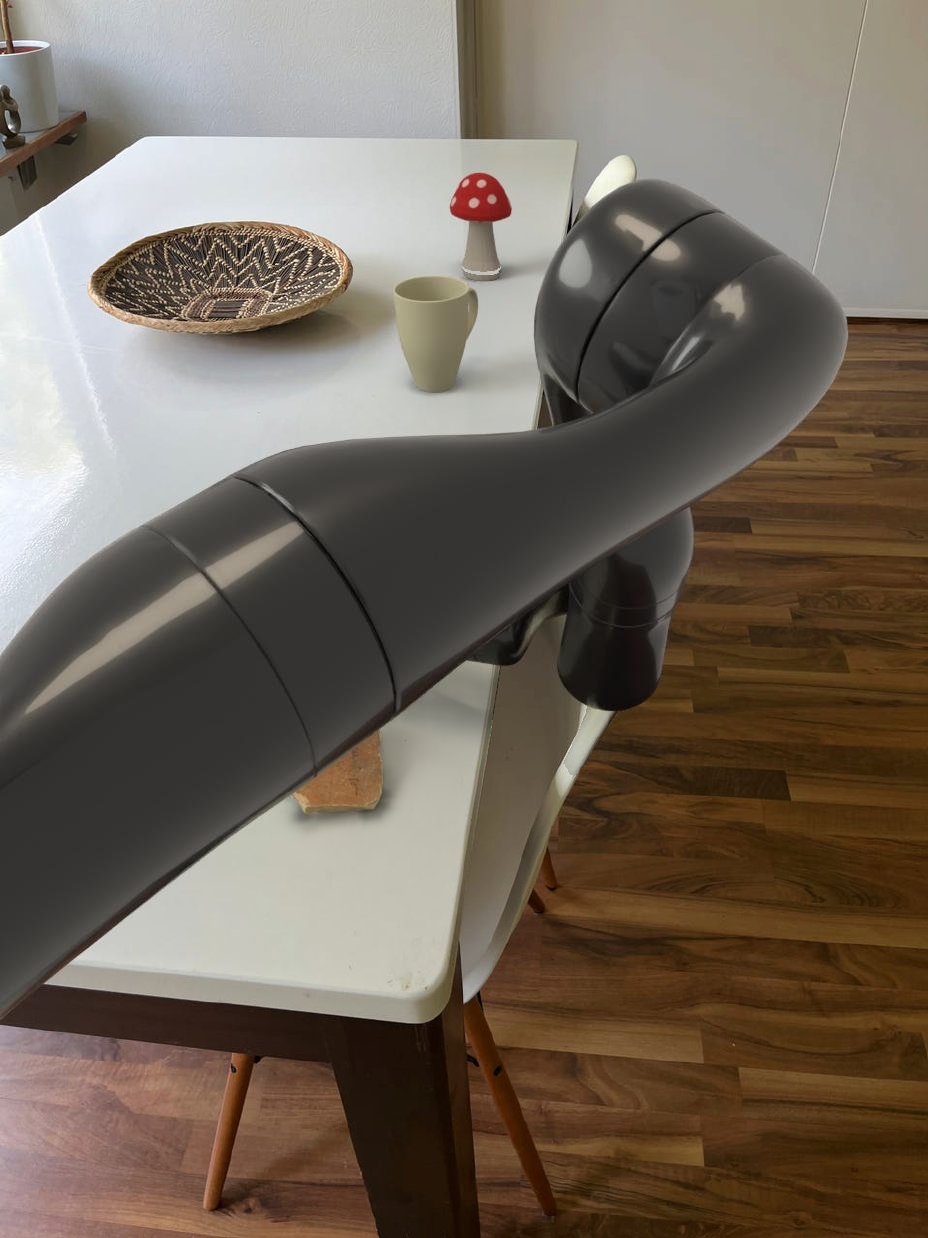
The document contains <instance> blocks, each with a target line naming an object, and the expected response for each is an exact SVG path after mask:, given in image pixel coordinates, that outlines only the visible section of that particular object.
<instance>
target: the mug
mask: <svg viewBox="0 0 928 1238" xmlns="http://www.w3.org/2000/svg"><path fill="white" fill-rule="evenodd" d="M392 294H393V295H392V296H393V302H394V303H393V304H394V309H395V311H394V312H395V318H396V326H397V332H398V338H399V343H400V347H401V350H402V354H403V356H404V358H405V359H404V360H405V361H406V364H407V367H408V370H409V371H410V375H411V377H412V380H413V382H414V385H415V387H416V388H417V389H418V390H420V391H422V392H427V393H441V392H445V391H448V390H450V389H453V387H454V386H455V383H456V380H457V377H458V373H459V370H460V366H461V363H462V359H463V357H464V352H465V349H466V344H467V340H468V339H469V337H470V335H471V333H472V331H473V329H474V326H475V324H476V322H477V318H478V313H479V297H478V293H477V291H476V290H475V289H474V288H473V287H471V286H469V284H468V283H467V282H466V281H464V280H462V279H460V278H457V277H452V276H445V275H424V276H423V275H422V276H415V277H411V278H407V279H404V280H402V281H400V282H398V283H396V284H395V285H394V287H393V288H392Z"/></svg>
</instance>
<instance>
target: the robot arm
mask: <svg viewBox="0 0 928 1238" xmlns="http://www.w3.org/2000/svg"><path fill="white" fill-rule="evenodd" d="M534 308H535V309H534V315H533V318H534V319H533V343H534V344H533V345H534V354H535V359H536V365H537V369H538V372H539V373H538V374H539V377H540V381H541V385H542V389H543V393H544V397H545V400H546V404H547V408H548V412H549V416H550V421H551V426H548V427H547V426H546V427H540V428H535V429H530V430H523V431H514V432H513V431H512V432H511V431H510V432H497V433H495V432H493V433H474V434H473V433H472V434H471V433H469V434H430V435H405V436H384V437H369V438H353V439H344V440H337V441H329V442H323V443H321V442H320V443H315V444H314V443H313V444H309V445H301V446H298V447H294V448H290V449H286V450H282V451H280V452H277V453H275V454H272V455H269V456H266V457H263V458H261V459H259V460H257V461H255V462H252V463H251V464H249V465H247V466H245V467H243V468H241V469H238V470H237V471H235V472H233V473H231V474H229V475H227V476H225V478H223V479H221V480H219V481H217V482H215V483H213V484H211V485H210V486H208V487H206V488H204V489H203V490H201V491H200V492H198V493H196V494H194V495H192V496H191V497H189V498H187V499H185V500H184V501H182V502H180V503H178V504H177V505H175V506H173V507H171V508H170V509H168V510H166V511H164V512H162V513H161V514H159V515H157V516H155V517H153V518H152V519H150V520H148V521H147V522H144V523H142V524H141V525H139V526H138V527H134V528H133V529H131V530H130V531H128V532H127V533H125V534H123V535H121V536H119V537H118V538H117V539H115V540H114V541H112V542H110V543H109V544H108V545H106V546H105V547H103V548H102V549H100V550H98V551H97V552H96V553H94V554H93V555H91V557H89V558H88V559H86V560H85V561H84V562H82V564H80V565H79V566H77V568H76V569H74V571H72V572H71V573H70V574H69V575H68V576H67V577H65V578H64V580H62V581H61V583H60V584H59V585H58V586H57V587H56V588H55V589H54V590H53V591H52V592H51V593H50V594H48V596H47V597H46V598H45V600H44V601H43V602H42V603H41V604H40V605H39V606H38V607H37V608H36V610H35V611H34V612H33V613H32V615H31V616H30V617H29V618H28V620H27V621H26V622H25V623H24V624H23V626H21V628H20V629H19V631H18V632H17V633H16V634H15V636H14V637H13V638H12V639H11V641H10V642H9V643H8V644H7V646H6V647H5V648H4V649H3V651H2V652H1V653H0V1021H1V1020H3V1018H5V1017H6V1016H7V1015H8V1014H9V1013H10V1012H11V1011H12V1010H13V1009H15V1008H16V1007H17V1006H18V1005H19V1004H20V1003H22V1002H23V1001H24V1000H26V999H27V998H28V997H29V996H30V995H31V994H33V993H34V992H35V991H36V990H39V988H41V987H42V986H43V985H44V984H45V983H46V982H48V981H49V980H51V978H53V977H54V976H55V975H56V974H57V973H59V972H60V971H62V969H64V968H65V967H66V966H68V965H69V964H70V963H71V962H73V961H74V960H75V959H76V958H78V957H79V956H80V955H81V954H83V953H84V952H85V951H87V950H88V949H89V948H90V947H91V946H93V945H94V944H95V943H97V942H98V941H99V940H101V939H102V938H103V937H104V936H105V935H107V934H108V933H109V932H110V931H112V930H113V929H114V928H115V927H117V926H118V925H119V924H120V923H122V922H123V921H124V920H125V919H127V918H128V917H130V916H131V915H132V914H133V913H134V912H135V911H137V910H138V909H140V908H141V907H142V906H143V905H145V904H146V903H147V902H149V901H150V900H152V898H153V897H155V896H156V895H157V894H159V893H160V892H161V891H163V890H164V889H165V888H166V887H168V886H169V885H170V884H171V883H173V882H174V881H175V880H177V879H178V878H179V877H181V876H182V875H184V873H186V872H187V871H189V870H190V869H192V867H193V866H195V865H197V863H199V862H200V861H201V860H202V859H204V858H205V857H207V856H208V855H209V854H210V853H212V852H213V851H215V850H216V849H217V848H218V847H219V846H221V845H222V844H224V843H225V842H227V841H228V840H229V839H230V838H231V837H233V836H234V835H236V834H237V833H238V832H240V831H241V830H243V829H244V828H246V827H247V826H249V825H250V824H251V823H253V822H254V821H255V820H257V819H258V818H260V817H261V816H262V815H264V814H266V813H267V812H268V811H270V810H272V809H273V808H274V807H276V806H277V805H279V804H280V803H282V802H283V801H285V800H286V799H288V798H289V797H290V796H293V795H292V794H293V793H295V792H296V791H298V790H299V789H301V788H302V787H304V786H305V785H307V784H308V783H310V782H311V780H313V779H315V778H316V777H317V776H319V775H320V774H321V773H323V772H324V771H325V770H327V769H328V768H329V767H331V766H332V765H333V764H335V763H336V762H337V761H339V760H340V759H341V758H343V757H344V756H345V755H347V754H348V753H349V752H351V751H352V750H353V749H355V748H356V747H357V746H359V745H360V744H361V743H363V742H364V741H365V740H367V739H368V738H369V737H371V736H372V735H373V734H375V733H376V732H377V731H378V730H379V731H380V730H381V729H383V728H384V727H385V726H386V725H388V724H389V723H390V722H392V721H393V720H395V719H396V718H398V716H400V715H401V714H402V713H403V712H405V711H406V710H407V709H408V708H410V707H411V706H412V705H413V704H414V703H416V702H417V701H419V699H421V698H422V697H423V696H424V695H425V694H427V693H428V692H429V691H430V690H432V688H434V687H435V686H437V684H439V683H440V682H442V681H443V680H444V679H445V678H447V676H449V675H450V674H452V672H454V671H455V670H457V668H459V667H460V666H461V665H463V663H465V662H467V661H468V662H473V663H479V664H485V665H491V666H492V665H493V666H499V667H501V666H502V667H508V666H509V667H510V666H513V665H516V664H517V663H519V662H520V661H521V660H522V658H523V657H524V656H525V655H526V652H527V650H528V649H529V647H530V644H531V642H532V640H533V639H534V637H535V635H536V634H537V631H538V630H539V628H540V627H541V626H542V625H543V624H544V623H546V622H547V621H549V620H553V619H554V618H558V617H561V616H566V617H565V620H564V621H565V622H564V626H563V630H562V635H561V641H560V644H559V645H560V646H559V650H558V656H557V664H556V667H557V668H556V669H557V674H558V677H559V680H560V682H561V684H562V685H563V687H564V689H566V691H567V692H568V694H570V696H572V697H573V699H576V701H578V702H579V703H580V704H582V705H585V706H586V707H588V708H591V709H594V710H598V711H603V712H621V711H627V710H630V709H633V708H636V707H638V706H640V705H642V704H643V703H644V702H646V701H647V700H649V699H650V698H651V697H652V696H653V695H654V693H655V692H656V690H657V689H658V686H659V685H660V681H661V677H662V671H663V666H664V660H665V654H666V649H667V642H668V634H669V629H670V625H671V621H672V618H673V614H674V612H675V609H676V607H677V605H678V603H679V601H680V599H681V596H682V593H683V590H684V588H685V583H686V581H687V577H688V574H689V571H690V568H691V564H692V561H693V557H694V551H695V539H696V538H695V536H696V535H695V533H696V532H695V531H696V530H695V524H694V517H693V511H692V506H693V505H695V504H697V503H698V502H700V501H701V500H703V499H704V498H706V497H707V496H709V495H711V494H713V493H714V492H715V491H717V490H719V489H720V488H721V487H723V486H725V485H726V484H727V483H729V482H731V481H732V480H733V479H735V478H736V477H738V476H739V475H741V474H742V473H744V472H746V471H747V470H748V469H750V468H751V467H752V466H753V465H755V464H756V463H758V462H759V461H760V460H762V459H763V458H764V457H765V456H766V455H768V454H769V453H770V452H771V451H773V450H774V449H775V448H776V447H777V446H779V445H780V443H782V442H783V441H784V440H785V439H786V438H787V437H788V436H789V435H790V434H791V433H793V431H795V430H796V428H798V427H799V426H800V425H801V424H802V423H803V422H804V421H805V419H806V418H807V417H808V416H809V415H810V414H811V412H812V411H813V410H814V409H815V407H816V406H817V405H818V404H819V402H821V400H822V399H823V398H824V396H825V395H826V393H827V392H828V390H829V389H830V387H831V386H832V384H833V382H834V381H835V379H836V377H837V375H838V373H839V371H840V368H841V366H842V364H843V361H844V359H845V355H846V351H847V346H848V342H849V341H848V340H849V330H848V329H849V328H848V319H847V316H846V314H845V311H844V309H843V307H842V304H841V303H840V302H839V299H837V298H836V296H835V295H834V294H833V293H832V292H831V290H830V289H829V288H828V287H827V286H826V285H825V284H824V283H823V282H821V280H820V279H818V278H817V277H816V276H815V275H814V274H813V273H812V272H810V271H809V270H808V269H807V268H806V267H805V266H804V265H802V264H801V263H799V262H798V261H796V260H795V259H793V258H792V257H789V256H788V254H786V253H785V252H784V251H782V250H781V249H779V248H778V247H776V246H775V245H773V244H772V243H770V242H769V241H767V239H765V238H763V237H761V236H760V235H759V234H757V233H756V232H755V231H753V230H751V229H750V228H749V227H747V226H745V225H744V224H743V223H741V222H740V221H738V220H737V219H735V218H734V217H732V216H731V215H730V214H727V213H726V212H725V211H724V210H721V209H720V208H719V207H717V206H716V205H714V204H713V203H711V202H710V201H708V200H706V199H705V198H703V197H702V196H700V195H698V194H696V193H694V192H693V191H692V190H689V189H687V188H685V187H683V186H680V185H678V184H675V183H672V182H669V181H666V180H663V179H660V178H643V179H636V180H633V181H630V182H627V183H625V184H623V185H621V186H618V187H617V188H615V189H613V190H612V191H610V192H609V193H607V194H605V196H603V197H602V198H600V199H599V200H598V201H596V202H595V204H593V205H592V206H591V207H590V208H589V209H587V211H586V212H584V214H583V215H582V216H581V217H580V218H579V219H578V220H577V222H575V223H574V225H573V226H572V227H571V229H570V230H569V231H568V233H567V234H566V236H565V237H564V239H563V240H562V241H561V243H560V245H559V246H558V247H557V249H556V251H555V253H554V255H553V256H552V259H551V261H550V263H549V264H548V266H547V268H546V271H545V273H544V276H543V279H542V282H541V285H540V288H539V291H538V294H537V299H536V303H535V307H534Z"/></svg>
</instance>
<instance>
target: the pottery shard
mask: <svg viewBox="0 0 928 1238" xmlns="http://www.w3.org/2000/svg"><path fill="white" fill-rule="evenodd" d="M381 744H382V738H381V731H380V730H378V731H377V732H376V733H375V734H373V735H372V736H371V737H369V738H368V739H367V740H365V741H364V742H363V743H361V744H360V745H359V746H357V747H356V748H355V749H353V750H352V751H351V752H349V753H348V754H347V755H345V756H344V757H343V758H341V759H340V760H339V761H337V762H336V763H335V764H333V765H332V766H331V767H329V768H328V769H327V770H325V771H324V772H323V773H321V774H320V775H319V776H317V777H316V778H315V779H313V780H311V782H310V783H308V784H307V785H305V786H304V787H302V788H301V789H299V790H298V791H296V792H295V793H293V794H292V795H291V796H293V797H294V799H295V800H296V801H297V802H298V804H299V805H300V808H301V809H302V812H303V813H304V814H305V815H312V814H314V813H323V812H333V813H334V812H335V813H337V812H339V813H340V812H350V811H351V812H352V811H357V810H374V809H375V808H376V806H377V805H378V803H379V802H380V799H381V797H382V795H383V786H384V785H383V784H384V783H383V782H384V780H383V758H382V757H381V753H380V747H381Z"/></svg>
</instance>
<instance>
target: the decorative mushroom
mask: <svg viewBox="0 0 928 1238" xmlns="http://www.w3.org/2000/svg"><path fill="white" fill-rule="evenodd" d="M512 211H513V208H512V203H511V200H510V198H509V197H508V195H507V193H506V191H505V188H504V187H503V185H502V184H501V182H500V181H499V180H498V179H497V178H496V177H494V176H493V175H491V174H489V173H486V172H473V173H471V174H468V175H466V176H465V177H464V178H462V179H461V180H460V182H459V183H458V185H457V187H456V189H455V191H454V194H453V196H452V198H451V199H450V204H449V212H450V214H451V215H452V216H453V217H455V218H458V219H460V220H463V221H466V222H468V232H467V239H466V246H465V252H464V257H463V260H462V263H461V265H462V266H463V267H464V268H465V269H468V270H471V271H480V272H487V271H495V270H497V269H498V268H500V266H501V267H502V265H501V263H500V260H499V257H498V253H497V247H496V239H495V233H494V223H495V222H499V221H503V220H505V219H508V218H510V217H511V215H512ZM461 270H462V272H463V275H464V277H466V278H467V279H469V280H473V281H478V282H489V281H491V282H492V281H495V280H497V279H499V277H500V275H501V271H500V272H499V273H497V274H494V275H476V274H471V273H468V272H465V271H464V270H463V269H462V268H461Z"/></svg>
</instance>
